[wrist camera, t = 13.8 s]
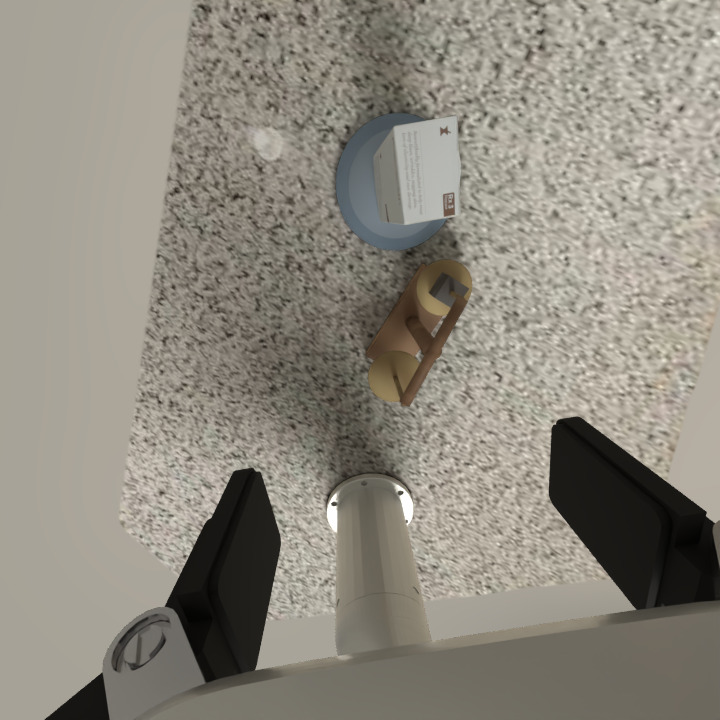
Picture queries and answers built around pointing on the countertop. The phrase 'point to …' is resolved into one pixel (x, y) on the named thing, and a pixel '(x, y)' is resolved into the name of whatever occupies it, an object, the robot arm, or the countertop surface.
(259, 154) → the countertop surface
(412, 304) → the balance
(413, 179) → the skincare box
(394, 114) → the dish
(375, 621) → the robot arm
